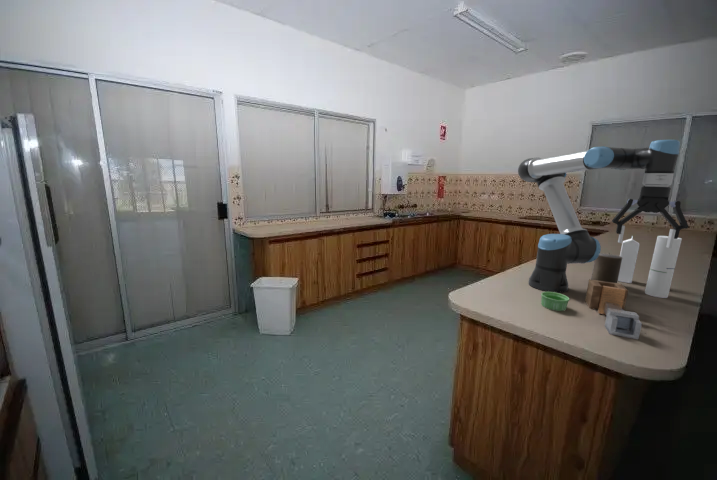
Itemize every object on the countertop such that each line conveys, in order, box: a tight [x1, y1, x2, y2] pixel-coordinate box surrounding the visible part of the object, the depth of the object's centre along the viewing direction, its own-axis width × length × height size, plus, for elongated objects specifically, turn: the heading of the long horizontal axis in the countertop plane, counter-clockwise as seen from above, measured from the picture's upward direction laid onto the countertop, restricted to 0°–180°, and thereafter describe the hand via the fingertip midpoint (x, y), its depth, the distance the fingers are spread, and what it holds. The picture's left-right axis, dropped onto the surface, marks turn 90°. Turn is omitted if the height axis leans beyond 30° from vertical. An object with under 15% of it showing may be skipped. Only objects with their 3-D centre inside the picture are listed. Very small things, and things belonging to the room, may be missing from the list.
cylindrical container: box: [644, 235, 683, 299], centre depth 129 cm, size 7×7×25 cm
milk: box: [617, 235, 640, 284], centre depth 147 cm, size 6×6×22 cm
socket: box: [584, 278, 629, 311], centre depth 116 cm, size 10×8×9 cm
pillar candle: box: [590, 252, 622, 283], centre depth 143 cm, size 10×10×15 cm
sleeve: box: [604, 308, 643, 340], centre depth 96 cm, size 7×6×6 cm
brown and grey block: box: [597, 286, 630, 329], centre depth 105 cm, size 6×20×10 cm, turn 153°
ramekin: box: [540, 291, 570, 312], centre depth 116 cm, size 9×9×4 cm
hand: (643, 245), depth 112 cm, fingers open, 13 cm apart
